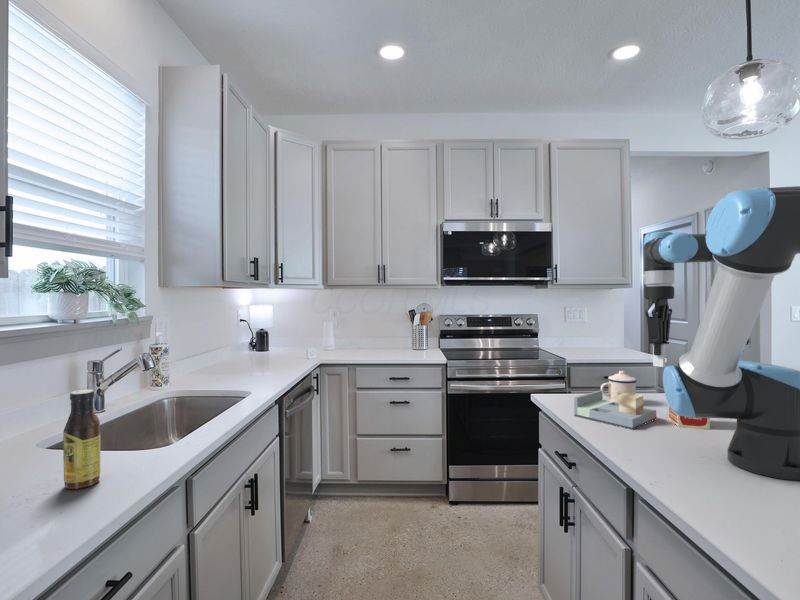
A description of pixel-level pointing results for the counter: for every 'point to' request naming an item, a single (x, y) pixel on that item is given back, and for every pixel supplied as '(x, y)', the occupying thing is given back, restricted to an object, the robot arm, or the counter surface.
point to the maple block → (631, 403)
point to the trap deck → (609, 411)
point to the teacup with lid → (619, 386)
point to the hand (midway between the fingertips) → (659, 366)
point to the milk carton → (688, 421)
